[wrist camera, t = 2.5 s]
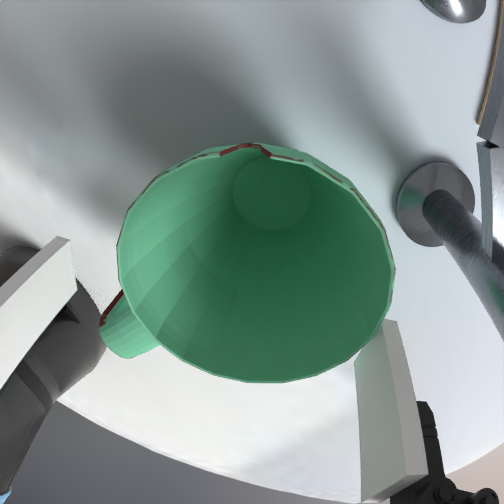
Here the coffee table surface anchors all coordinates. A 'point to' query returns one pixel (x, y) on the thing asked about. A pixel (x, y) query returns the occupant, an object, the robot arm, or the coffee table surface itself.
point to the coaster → (503, 4)
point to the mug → (250, 266)
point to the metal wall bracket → (465, 189)
